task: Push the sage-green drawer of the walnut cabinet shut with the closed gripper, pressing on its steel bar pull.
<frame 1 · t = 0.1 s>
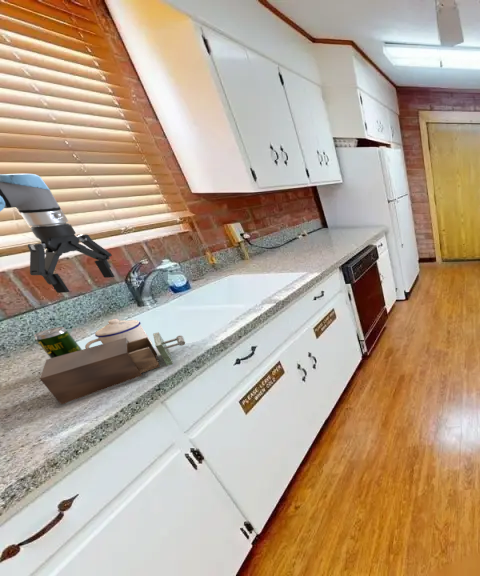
hand: (88, 284, 104), 17 cm above the countertop, tool pointing down, fingers open, 13 cm apart
cabinet: (106, 382, 83), on the countertop
drawer: (145, 354, 87), point 5 cm above the countertop, slide at 5.0 cm
green soda can: (75, 365, 90), on the countertop
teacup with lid: (127, 353, 95), on the countertop
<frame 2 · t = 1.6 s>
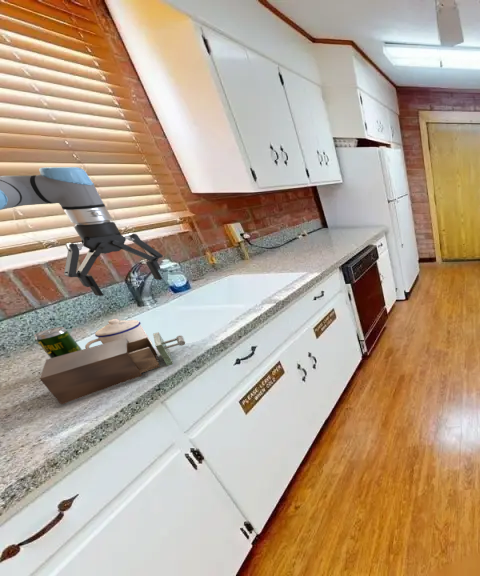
hand: (131, 286, 97), 19 cm above the countertop, tool pointing down, fingers open, 13 cm apart
nothing on the countertop moved.
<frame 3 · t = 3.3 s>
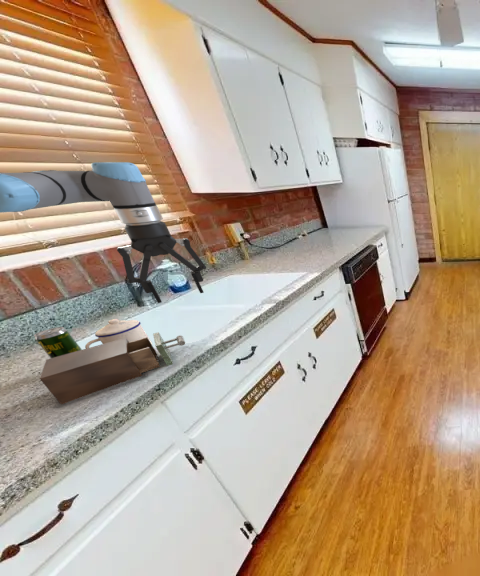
hand: (181, 296, 90), 19 cm above the countertop, tool pointing down, fingers open, 8 cm apart
nothing on the countertop moved.
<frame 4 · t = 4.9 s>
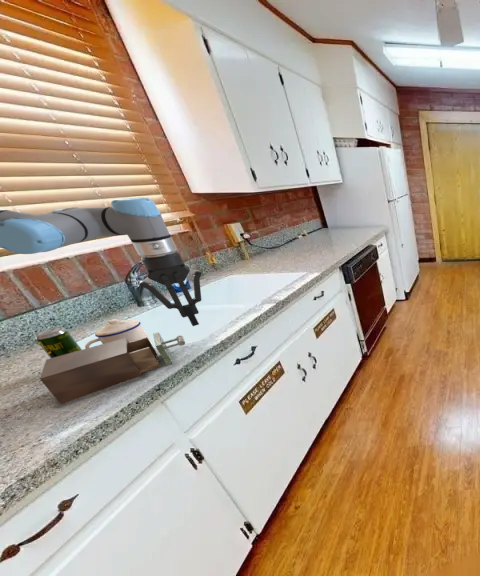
hand: (195, 323, 94), 9 cm above the countertop, tool pointing down, fingers closed
nothing on the countertop moved.
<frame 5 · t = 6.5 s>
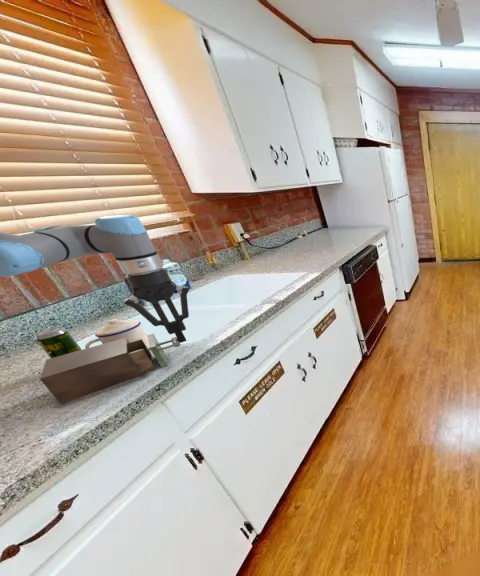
hand: (182, 340, 93), 5 cm above the countertop, tool pointing down, fingers closed
drawer: (139, 355, 87), point 5 cm above the countertop, slide at 3.9 cm, touching gripper
everything else where it was.
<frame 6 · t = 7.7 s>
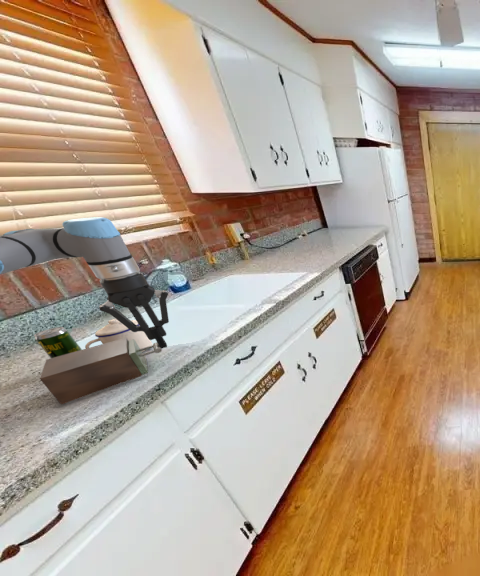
hand: (163, 346, 90), 5 cm above the countertop, tool pointing down, fingers closed
drawer: (119, 362, 84), point 5 cm above the countertop, slide at 0.0 cm, touching cabinet, gripper
everything else where it was.
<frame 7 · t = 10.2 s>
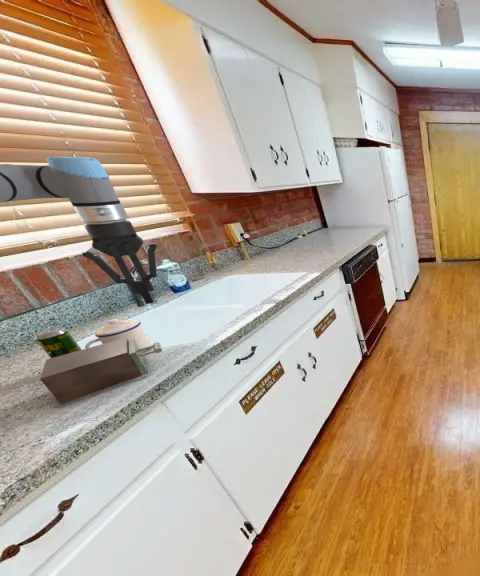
hand: (149, 302, 86), 20 cm above the countertop, tool pointing down, fingers closed
drawer: (119, 362, 84), point 5 cm above the countertop, slide at 0.0 cm, touching cabinet
everything else where it was.
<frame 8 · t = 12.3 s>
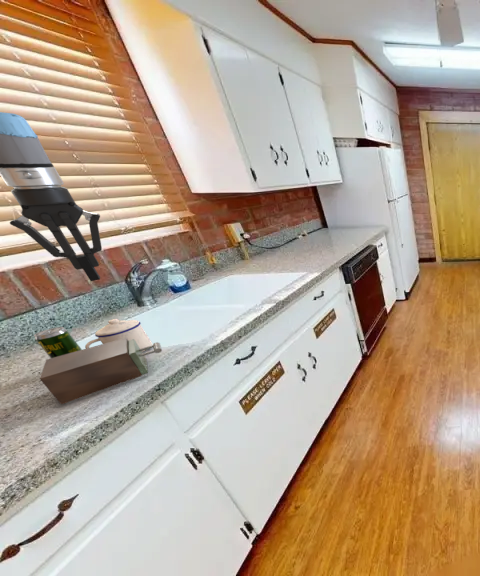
hand: (95, 279, 79), 28 cm above the countertop, tool pointing down, fingers closed
nothing on the countertop moved.
at the end: drawer slide at 0.0 cm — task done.
